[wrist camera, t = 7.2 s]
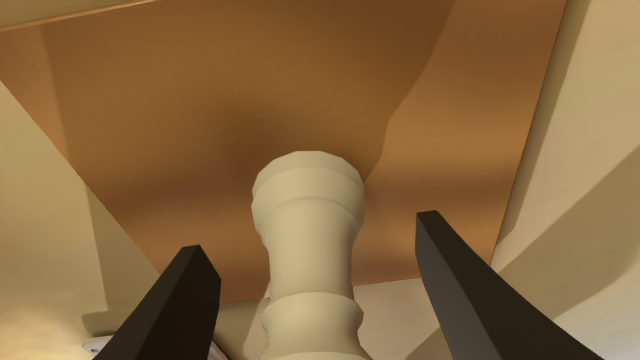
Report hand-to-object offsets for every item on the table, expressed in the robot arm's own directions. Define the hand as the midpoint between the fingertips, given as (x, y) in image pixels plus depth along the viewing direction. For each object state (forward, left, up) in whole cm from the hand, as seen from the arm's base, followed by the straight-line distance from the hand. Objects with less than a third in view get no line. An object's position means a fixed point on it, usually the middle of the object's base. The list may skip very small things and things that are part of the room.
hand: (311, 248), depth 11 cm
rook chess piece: (0, 0, -3) cm, 3 cm away
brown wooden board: (0, 0, -4) cm, 4 cm away
